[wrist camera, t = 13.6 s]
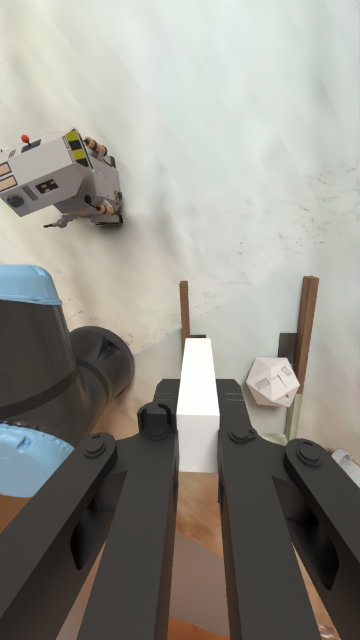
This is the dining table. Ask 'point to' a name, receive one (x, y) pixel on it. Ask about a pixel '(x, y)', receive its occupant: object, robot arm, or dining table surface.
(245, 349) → the dining table surface
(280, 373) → the die
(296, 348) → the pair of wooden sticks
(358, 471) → the ceramic mug
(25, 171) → the figurine
